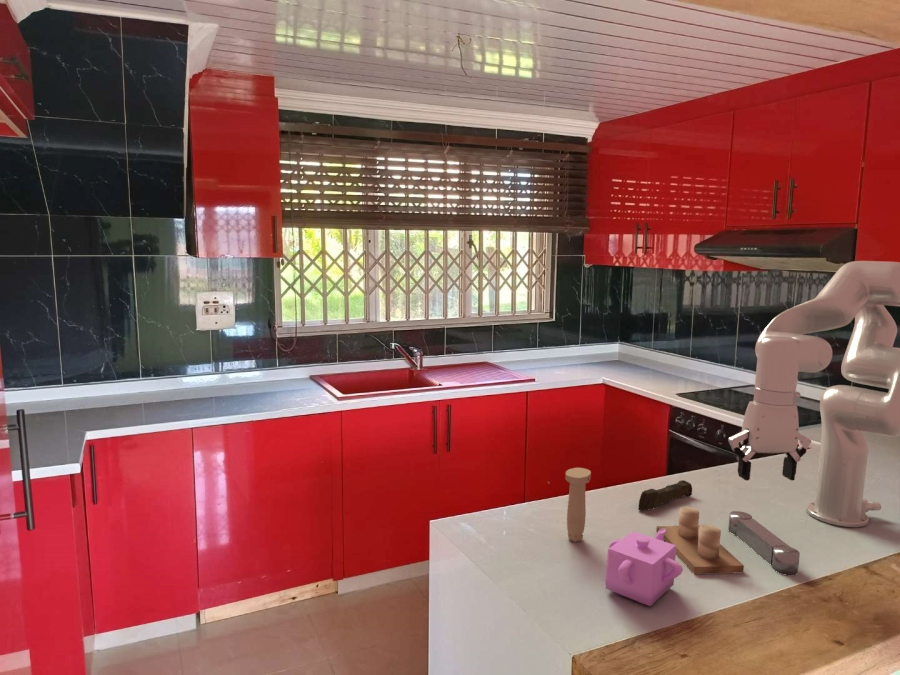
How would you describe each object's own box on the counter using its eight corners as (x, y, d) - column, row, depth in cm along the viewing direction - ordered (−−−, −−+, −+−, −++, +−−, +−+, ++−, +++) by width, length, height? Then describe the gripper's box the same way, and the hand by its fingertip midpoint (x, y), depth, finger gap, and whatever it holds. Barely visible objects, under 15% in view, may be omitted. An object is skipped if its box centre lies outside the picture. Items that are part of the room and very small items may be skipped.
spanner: (743, 527, 144) (745, 510, 144) (803, 575, 124) (805, 556, 123) (724, 528, 144) (725, 511, 143) (780, 576, 123) (782, 556, 123)
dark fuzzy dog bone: (679, 492, 165) (680, 475, 164) (692, 497, 162) (693, 480, 161) (629, 508, 155) (630, 490, 154) (642, 514, 151) (643, 495, 151)
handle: (558, 541, 136) (561, 474, 134) (571, 530, 141) (574, 466, 139) (579, 547, 133) (582, 479, 131) (591, 536, 138) (594, 470, 136)
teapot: (631, 560, 128) (634, 512, 127) (700, 585, 119) (704, 534, 118) (586, 595, 115) (588, 543, 114) (660, 626, 106) (663, 570, 105)
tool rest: (699, 531, 142) (701, 501, 141) (743, 572, 124) (746, 538, 123) (656, 532, 141) (658, 502, 140) (694, 574, 123) (696, 540, 122)
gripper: (802, 393, 133) (794, 472, 136) (724, 392, 132) (716, 472, 134) (826, 402, 126) (817, 484, 128) (743, 401, 125) (735, 484, 127)
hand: (766, 478), depth 131 cm, fingers open, 9 cm apart
